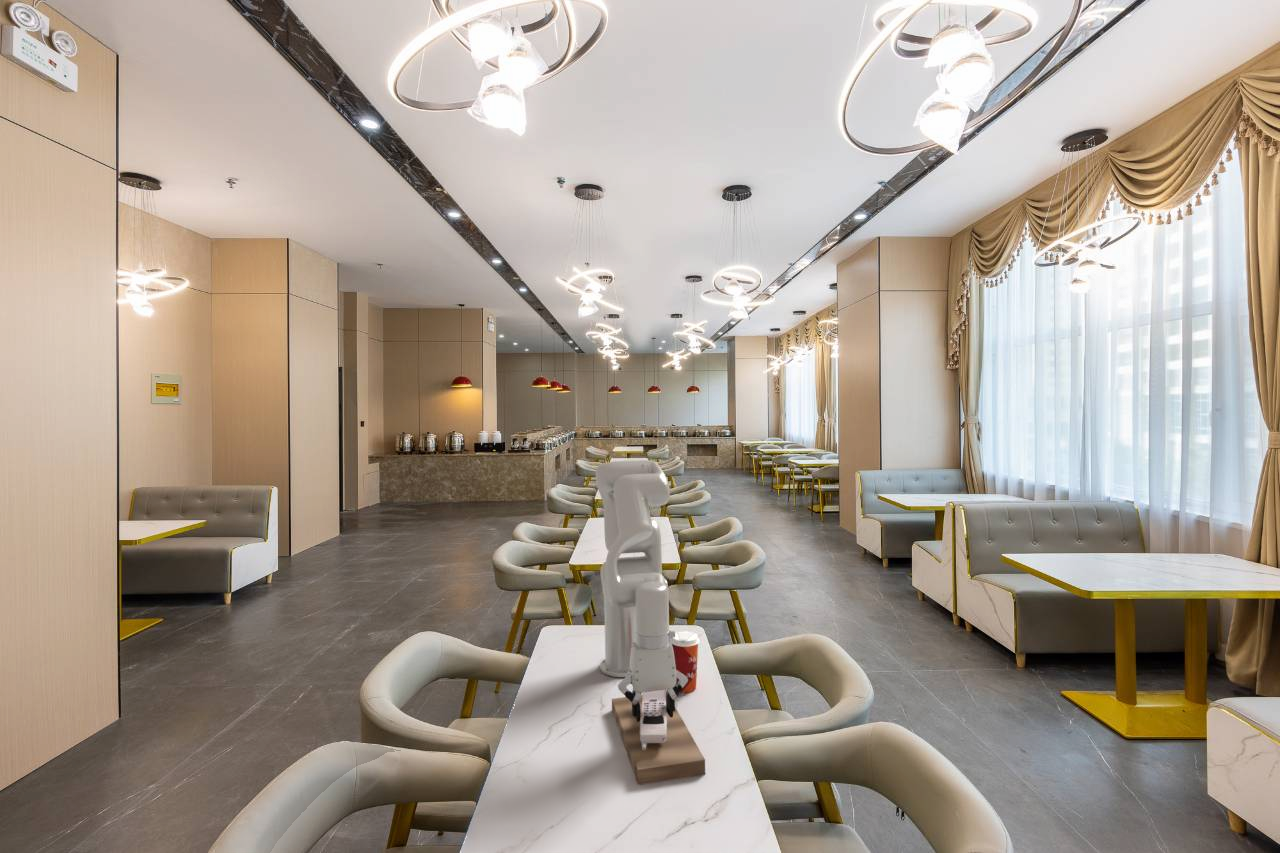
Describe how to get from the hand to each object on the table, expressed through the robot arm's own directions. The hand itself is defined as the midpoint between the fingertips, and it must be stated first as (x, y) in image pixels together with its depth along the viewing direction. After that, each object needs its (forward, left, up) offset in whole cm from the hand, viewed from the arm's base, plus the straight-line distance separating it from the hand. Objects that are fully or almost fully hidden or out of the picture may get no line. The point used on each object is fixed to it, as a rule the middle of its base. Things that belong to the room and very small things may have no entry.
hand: (653, 716), depth 137 cm
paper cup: (-22, +14, -6) cm, 26 cm away
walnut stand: (0, 0, -5) cm, 5 cm away
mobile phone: (0, 0, -1) cm, 1 cm away
